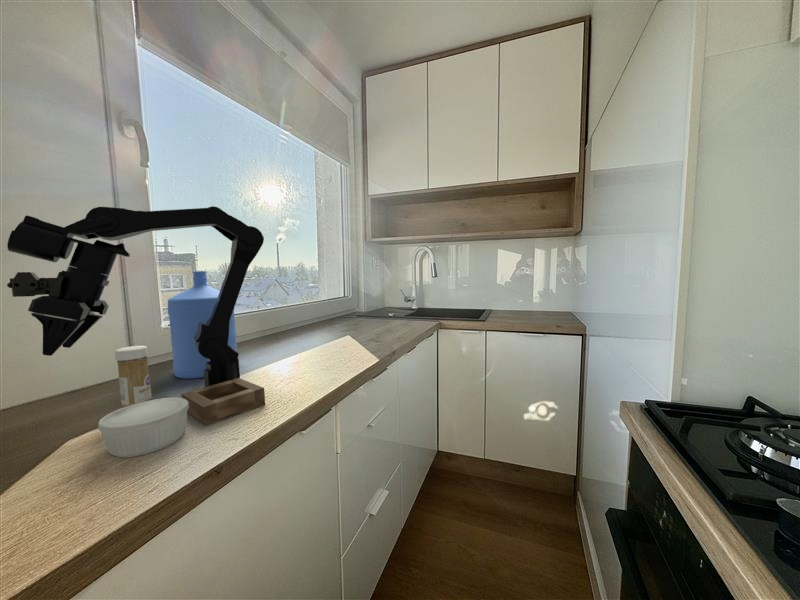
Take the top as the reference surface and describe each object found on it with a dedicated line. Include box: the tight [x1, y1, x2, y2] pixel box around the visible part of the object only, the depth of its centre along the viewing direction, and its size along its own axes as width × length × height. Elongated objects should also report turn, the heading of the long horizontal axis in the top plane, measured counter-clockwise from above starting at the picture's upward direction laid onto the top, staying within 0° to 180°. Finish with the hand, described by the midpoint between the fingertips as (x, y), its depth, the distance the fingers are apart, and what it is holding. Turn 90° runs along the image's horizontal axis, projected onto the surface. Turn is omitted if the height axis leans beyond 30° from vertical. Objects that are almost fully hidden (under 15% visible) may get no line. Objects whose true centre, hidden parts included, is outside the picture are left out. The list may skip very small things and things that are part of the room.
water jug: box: [167, 270, 238, 380], centre depth 87 cm, size 16×16×28 cm
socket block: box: [181, 377, 266, 427], centre depth 62 cm, size 11×11×4 cm
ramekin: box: [97, 397, 189, 458], centre depth 50 cm, size 11×11×5 cm
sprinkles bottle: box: [114, 345, 152, 408], centre depth 58 cm, size 5×5×14 cm
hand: (57, 350), depth 58 cm, fingers open, 9 cm apart
